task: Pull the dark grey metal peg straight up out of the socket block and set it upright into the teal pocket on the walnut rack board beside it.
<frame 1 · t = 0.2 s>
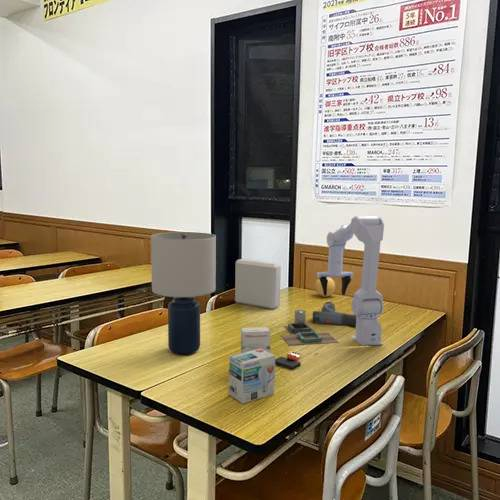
hand: (334, 294, 192), 10 cm above the table, tool pointing down, fingers open, 7 cm apart
light bulb box: (251, 395, 124), on the table
lamp: (184, 351, 155), on the table
bevelled white case: (257, 305, 213), on the table
socket block: (299, 330, 176), on the table
ink box: (255, 367, 142), on the table
rack: (309, 340, 166), on the table
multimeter: (294, 359, 150), on the table
power drill: (336, 320, 193), on the table
stress ball: (324, 296, 230), on the table
peg: (299, 329, 176), point 1 cm above the table, touching socket block
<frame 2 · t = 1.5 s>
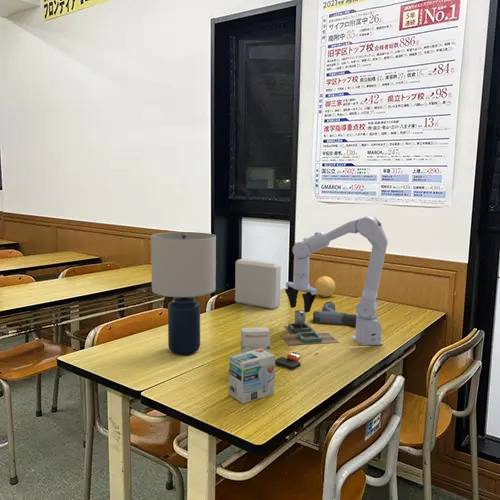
hand: (300, 309, 175), 8 cm above the table, tool pointing down, fingers open, 7 cm apart
nothing on the table moved.
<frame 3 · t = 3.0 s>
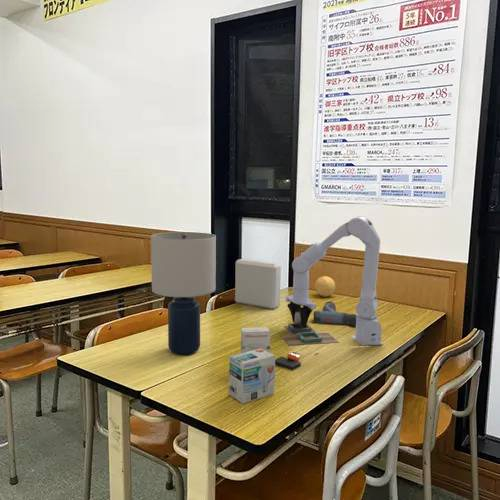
hand: (299, 323, 176), 3 cm above the table, tool pointing down, fingers closed on peg, 4 cm apart
peg: (299, 329, 176), point 1 cm above the table, touching gripper, socket block
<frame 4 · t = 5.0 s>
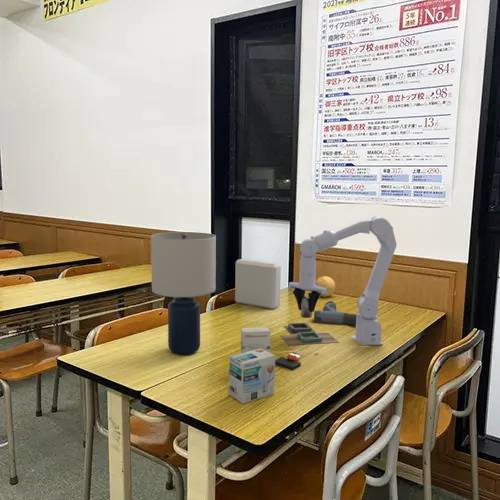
hand: (306, 310, 169), 10 cm above the table, tool pointing down, fingers closed on peg, 4 cm apart
peg: (306, 316, 169), point 8 cm above the table, touching gripper
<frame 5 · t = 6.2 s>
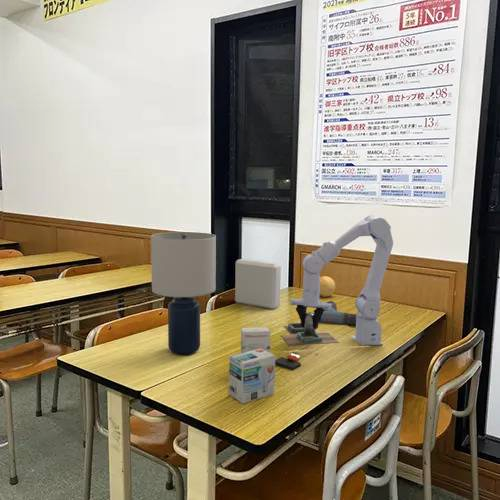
hand: (309, 327, 165), 5 cm above the table, tool pointing down, fingers closed on peg, 4 cm apart
peg: (309, 333, 166), point 3 cm above the table, touching gripper
when the fingers open (4 cm above the table, at t = 7.3 s): peg stays where it is, resting on rack.
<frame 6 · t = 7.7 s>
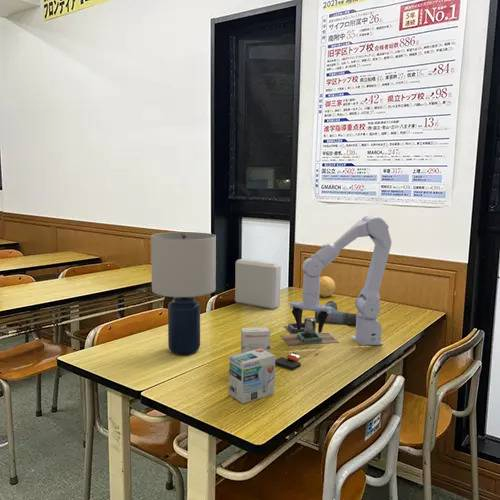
hand: (309, 330, 165), 4 cm above the table, tool pointing down, fingers open, 7 cm apart
peg: (309, 338, 166), point 1 cm above the table, touching rack
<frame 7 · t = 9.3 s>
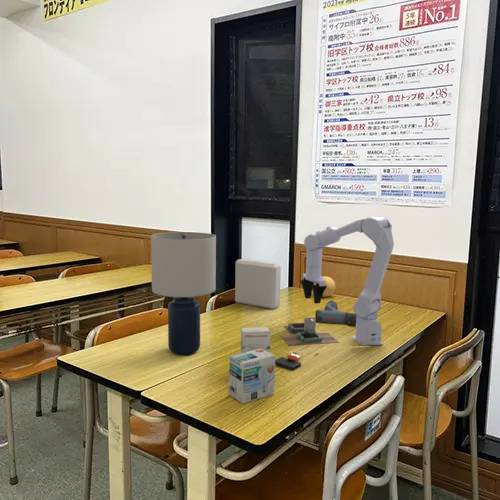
hand: (312, 300, 180), 10 cm above the table, tool pointing down, fingers open, 7 cm apart
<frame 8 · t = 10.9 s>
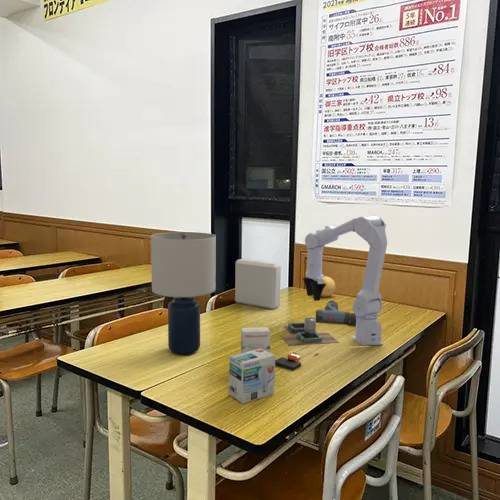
hand: (313, 297, 184), 10 cm above the table, tool pointing down, fingers open, 7 cm apart
at the end: peg 0.1 cm off-centre on the rack, point 0.8 cm above the rack's base; peg tilted 1°; the gripper is holding nothing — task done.
